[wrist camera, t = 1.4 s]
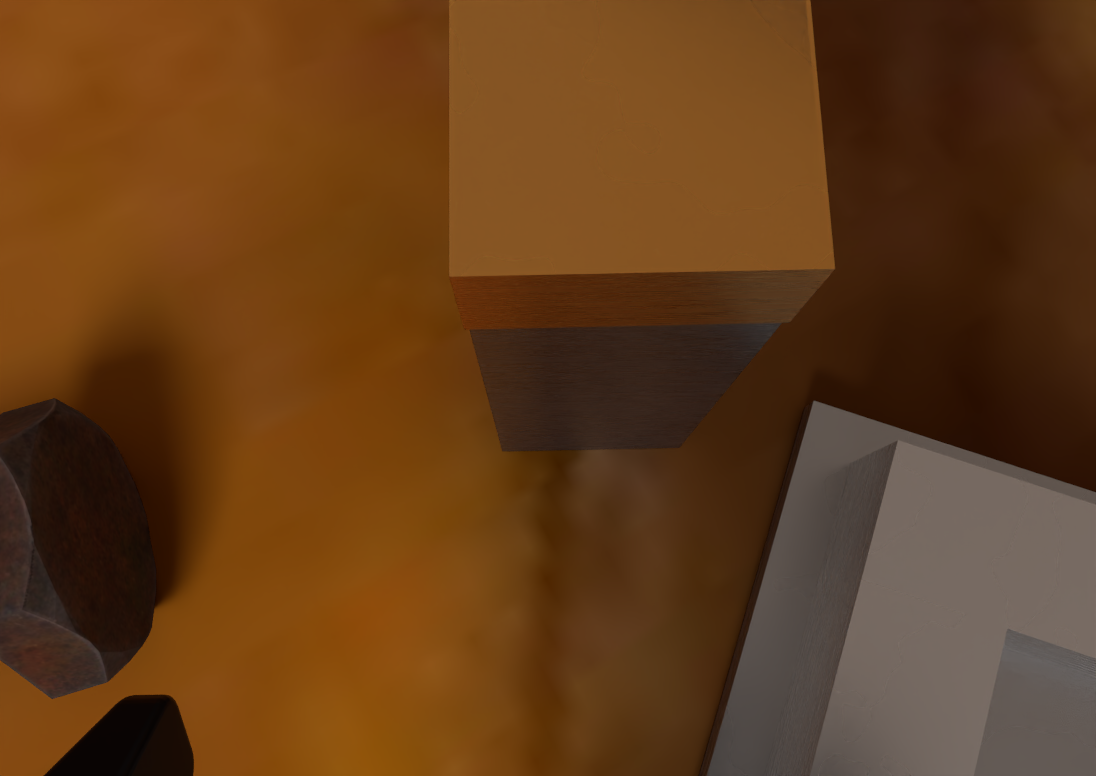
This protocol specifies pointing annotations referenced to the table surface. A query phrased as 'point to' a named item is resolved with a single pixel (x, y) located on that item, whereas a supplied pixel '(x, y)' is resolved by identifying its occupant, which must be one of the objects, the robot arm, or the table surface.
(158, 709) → the robot arm
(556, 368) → the grey square peg
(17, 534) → the bolt
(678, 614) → the table surface
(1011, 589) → the grey socket base
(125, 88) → the table surface
